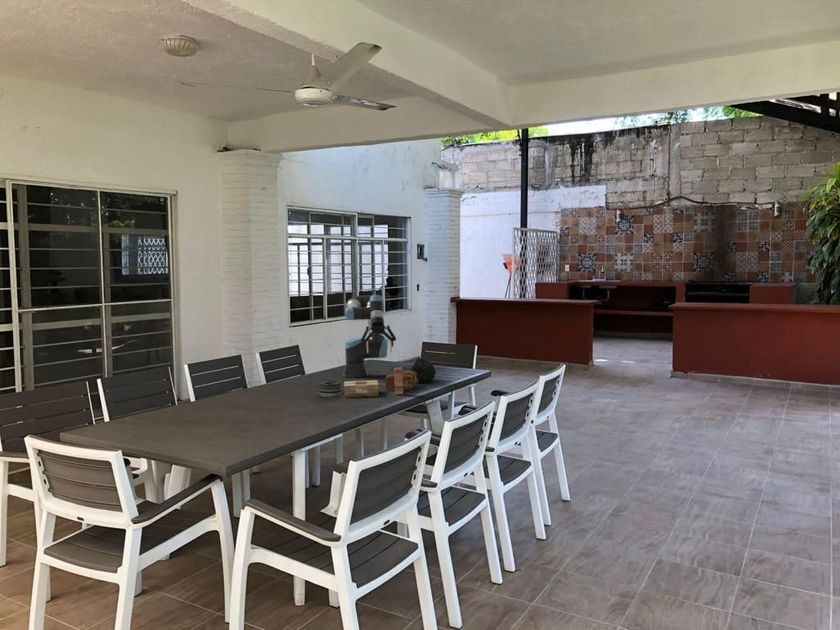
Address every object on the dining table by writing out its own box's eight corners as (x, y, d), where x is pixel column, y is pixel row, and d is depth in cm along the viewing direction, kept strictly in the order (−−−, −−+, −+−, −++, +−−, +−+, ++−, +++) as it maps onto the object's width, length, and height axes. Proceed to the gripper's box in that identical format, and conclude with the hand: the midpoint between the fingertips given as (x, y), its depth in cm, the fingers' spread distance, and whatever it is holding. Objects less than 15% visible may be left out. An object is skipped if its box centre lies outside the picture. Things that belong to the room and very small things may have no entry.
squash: (439, 370, 392) (422, 351, 391) (440, 375, 377) (422, 356, 376) (422, 385, 393) (405, 367, 392) (422, 392, 379) (404, 373, 377)
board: (344, 392, 360) (344, 381, 360) (377, 390, 362) (377, 380, 362) (344, 397, 346) (344, 386, 346) (378, 395, 348) (378, 384, 348)
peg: (394, 393, 354) (394, 367, 353) (402, 392, 355) (401, 367, 354) (395, 394, 350) (394, 368, 349) (403, 394, 351) (402, 368, 350)
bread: (400, 392, 357) (399, 374, 356) (384, 390, 363) (384, 372, 362) (419, 386, 373) (418, 369, 372) (403, 384, 378) (403, 367, 378)
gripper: (356, 317, 384) (357, 350, 374) (398, 315, 387) (401, 348, 377) (356, 323, 391) (357, 355, 381) (397, 321, 394) (400, 353, 384)
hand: (379, 351), depth 379 cm, fingers open, 13 cm apart
